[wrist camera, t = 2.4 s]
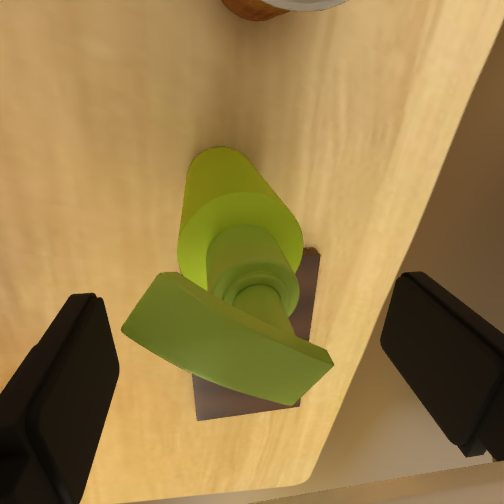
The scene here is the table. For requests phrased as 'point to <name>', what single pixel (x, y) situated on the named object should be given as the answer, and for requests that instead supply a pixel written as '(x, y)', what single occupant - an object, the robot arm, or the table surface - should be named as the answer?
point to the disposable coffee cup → (276, 7)
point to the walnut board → (237, 403)
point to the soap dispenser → (232, 287)
